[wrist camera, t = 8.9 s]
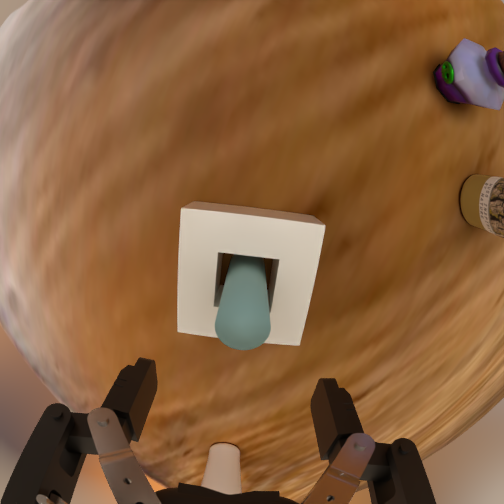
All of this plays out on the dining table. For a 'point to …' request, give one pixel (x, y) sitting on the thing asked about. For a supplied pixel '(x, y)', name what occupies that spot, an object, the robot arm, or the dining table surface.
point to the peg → (244, 304)
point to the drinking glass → (223, 469)
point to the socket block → (250, 244)
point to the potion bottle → (472, 76)
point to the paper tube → (484, 203)
